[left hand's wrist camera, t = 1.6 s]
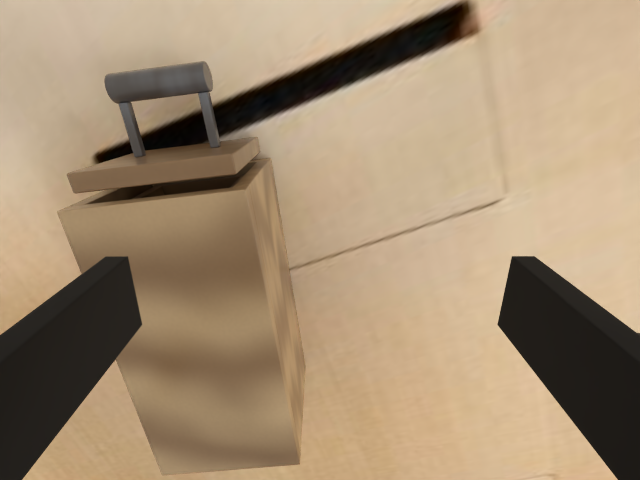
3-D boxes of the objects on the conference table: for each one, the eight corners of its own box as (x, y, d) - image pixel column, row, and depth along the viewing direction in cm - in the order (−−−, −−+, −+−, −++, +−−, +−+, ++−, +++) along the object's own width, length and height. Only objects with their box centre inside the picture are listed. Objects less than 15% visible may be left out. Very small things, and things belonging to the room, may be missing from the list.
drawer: (116, 80, 27) (28, 73, 19) (244, 63, 27) (211, 48, 19) (198, 357, 37) (163, 434, 29) (294, 348, 36) (287, 423, 28)
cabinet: (143, 173, 31) (56, 211, 21) (270, 157, 31) (245, 189, 20) (203, 376, 39) (162, 475, 29) (305, 366, 38) (299, 464, 28)
